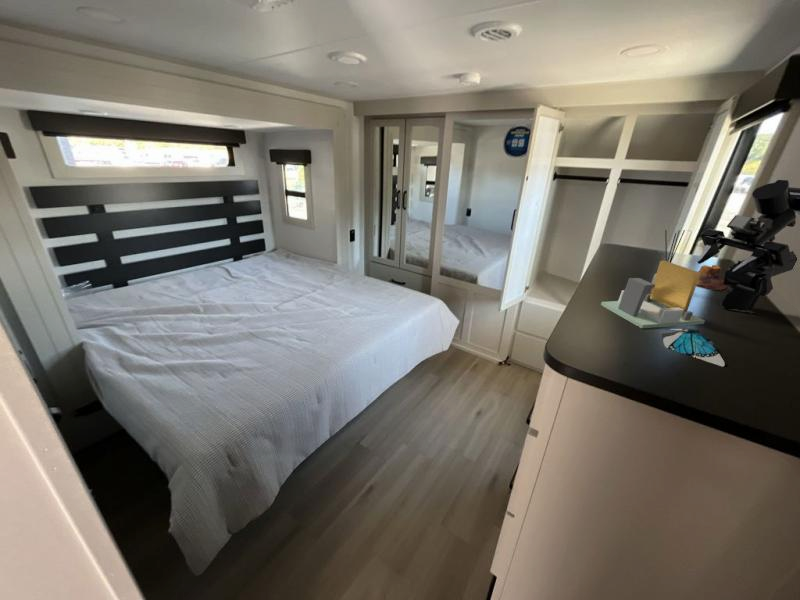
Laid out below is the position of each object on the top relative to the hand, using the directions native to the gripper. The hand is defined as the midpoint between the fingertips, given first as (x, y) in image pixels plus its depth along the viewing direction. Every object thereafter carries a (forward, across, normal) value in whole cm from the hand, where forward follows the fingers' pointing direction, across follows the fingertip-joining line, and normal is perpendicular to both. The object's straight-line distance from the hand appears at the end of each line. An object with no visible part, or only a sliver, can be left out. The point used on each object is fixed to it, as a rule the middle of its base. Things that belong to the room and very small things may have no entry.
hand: (714, 267), depth 87 cm
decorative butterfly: (+26, +17, -7) cm, 31 cm away
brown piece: (-9, -18, +30) cm, 36 cm away
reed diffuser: (+5, -18, +14) cm, 24 cm away
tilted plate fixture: (+20, 0, -2) cm, 21 cm away
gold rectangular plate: (+15, 0, 0) cm, 15 cm away
